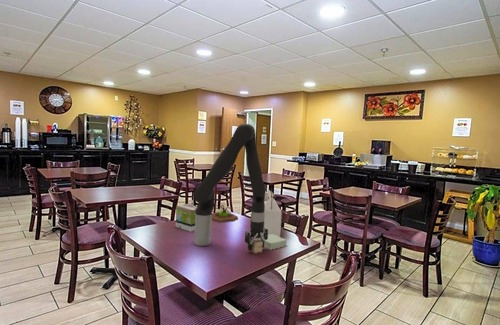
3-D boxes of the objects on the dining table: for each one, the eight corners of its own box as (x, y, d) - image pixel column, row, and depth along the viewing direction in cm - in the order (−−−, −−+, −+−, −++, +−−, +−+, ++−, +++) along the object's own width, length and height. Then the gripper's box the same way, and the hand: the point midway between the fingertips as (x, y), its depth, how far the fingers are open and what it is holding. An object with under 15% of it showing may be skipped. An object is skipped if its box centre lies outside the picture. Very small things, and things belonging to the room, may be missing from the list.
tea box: (174, 227, 192) (175, 205, 191) (186, 224, 200) (187, 203, 199) (190, 232, 184) (191, 209, 183) (201, 229, 192) (202, 207, 191)
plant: (204, 218, 220) (205, 203, 219) (225, 214, 233) (226, 201, 232) (220, 224, 205) (221, 209, 204) (241, 220, 218) (242, 206, 217)
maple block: (249, 250, 158) (249, 240, 158) (256, 249, 161) (257, 238, 161) (254, 253, 154) (255, 243, 154) (262, 252, 157) (262, 241, 157)
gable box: (280, 238, 181) (282, 194, 179) (259, 238, 180) (261, 193, 178) (274, 228, 203) (277, 188, 201) (256, 227, 202) (258, 187, 200)
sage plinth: (257, 243, 170) (257, 237, 170) (272, 240, 177) (272, 233, 177) (270, 250, 160) (270, 243, 160) (286, 246, 167) (286, 239, 167)
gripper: (263, 216, 164) (261, 244, 165) (242, 219, 155) (241, 249, 156) (272, 219, 158) (270, 248, 159) (251, 223, 149) (249, 253, 150)
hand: (256, 248), depth 158 cm, fingers open, 8 cm apart
